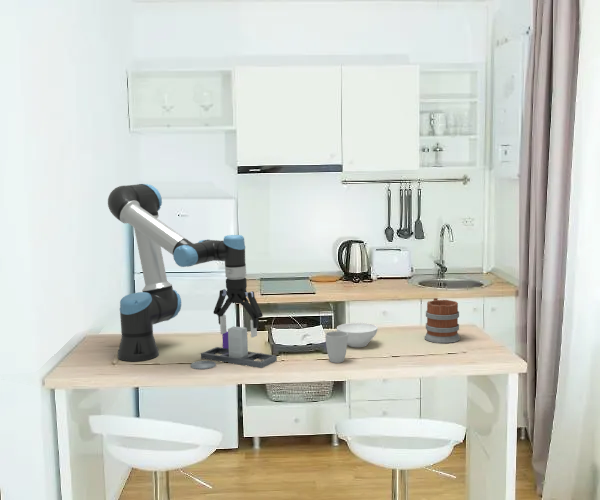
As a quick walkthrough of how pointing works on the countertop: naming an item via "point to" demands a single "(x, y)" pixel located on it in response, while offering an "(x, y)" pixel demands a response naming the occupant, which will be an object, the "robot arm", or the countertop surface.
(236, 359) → the dark gray compartment tray
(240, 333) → the skincare box
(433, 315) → the mug
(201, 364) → the coaster
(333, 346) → the cup
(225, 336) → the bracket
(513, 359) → the countertop surface
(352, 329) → the bowl
